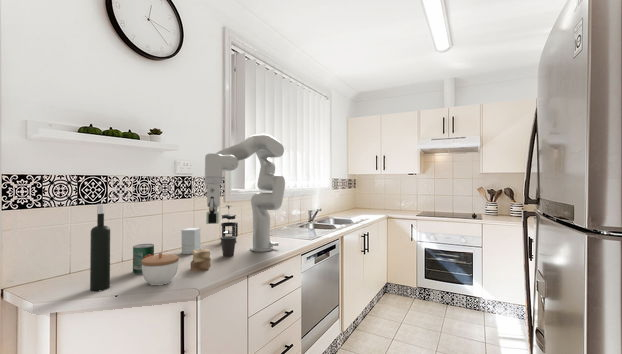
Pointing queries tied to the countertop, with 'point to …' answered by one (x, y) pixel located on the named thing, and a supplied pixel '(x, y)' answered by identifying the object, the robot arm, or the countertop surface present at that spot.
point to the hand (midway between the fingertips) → (212, 221)
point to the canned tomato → (141, 256)
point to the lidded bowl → (159, 268)
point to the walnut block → (200, 265)
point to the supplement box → (190, 240)
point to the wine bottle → (100, 253)
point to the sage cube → (216, 218)
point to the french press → (229, 224)
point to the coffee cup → (228, 245)
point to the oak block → (201, 255)
